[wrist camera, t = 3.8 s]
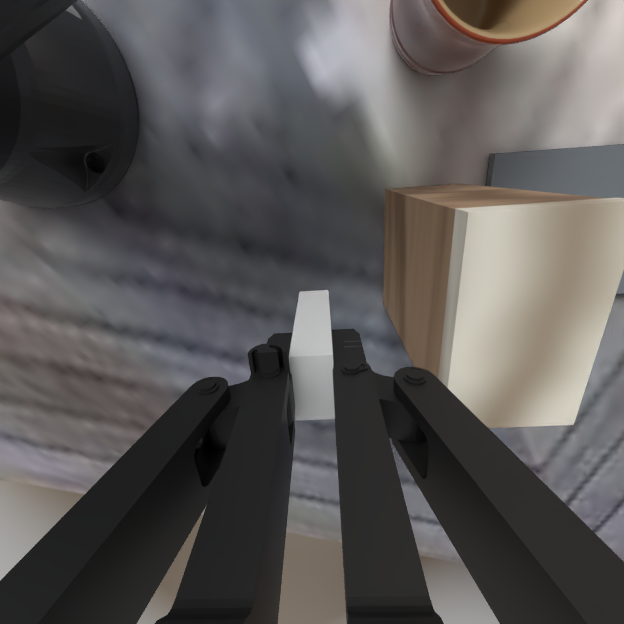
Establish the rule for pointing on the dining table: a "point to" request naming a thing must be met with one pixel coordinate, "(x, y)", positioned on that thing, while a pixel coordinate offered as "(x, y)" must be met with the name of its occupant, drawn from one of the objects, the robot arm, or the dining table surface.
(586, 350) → the brown and cream block
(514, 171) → the mat
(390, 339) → the dining table surface
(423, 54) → the mug
